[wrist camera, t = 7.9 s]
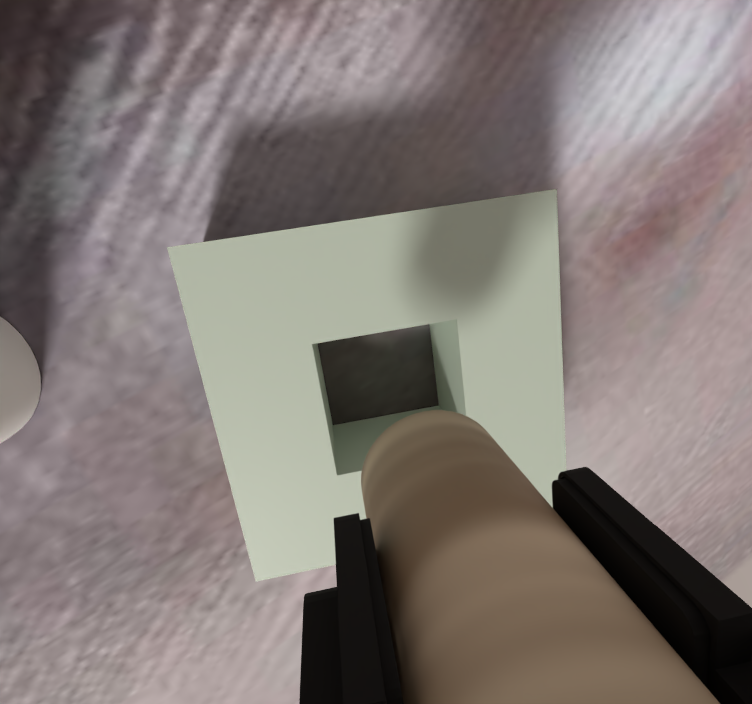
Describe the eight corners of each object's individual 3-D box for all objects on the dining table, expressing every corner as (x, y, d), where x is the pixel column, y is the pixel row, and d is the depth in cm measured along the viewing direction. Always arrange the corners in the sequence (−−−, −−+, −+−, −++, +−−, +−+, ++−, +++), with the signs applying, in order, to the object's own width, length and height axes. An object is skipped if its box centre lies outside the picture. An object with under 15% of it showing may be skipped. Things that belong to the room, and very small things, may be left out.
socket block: (202, 243, 20) (167, 247, 15) (502, 198, 21) (556, 189, 17) (267, 511, 24) (256, 581, 19) (520, 460, 25) (567, 514, 20)
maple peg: (349, 425, 12) (475, 1180, 2) (495, 397, 12) (1115, 973, 3) (372, 551, 13) (521, 1429, 3) (505, 523, 13) (979, 1255, 4)
